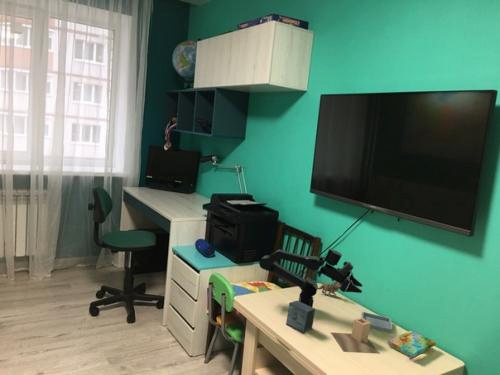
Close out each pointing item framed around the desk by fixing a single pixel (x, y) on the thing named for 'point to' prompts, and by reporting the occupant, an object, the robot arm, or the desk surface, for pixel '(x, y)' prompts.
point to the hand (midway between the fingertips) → (361, 288)
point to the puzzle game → (411, 344)
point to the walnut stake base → (353, 344)
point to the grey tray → (378, 322)
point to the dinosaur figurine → (330, 288)
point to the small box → (300, 316)
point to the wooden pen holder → (360, 330)
